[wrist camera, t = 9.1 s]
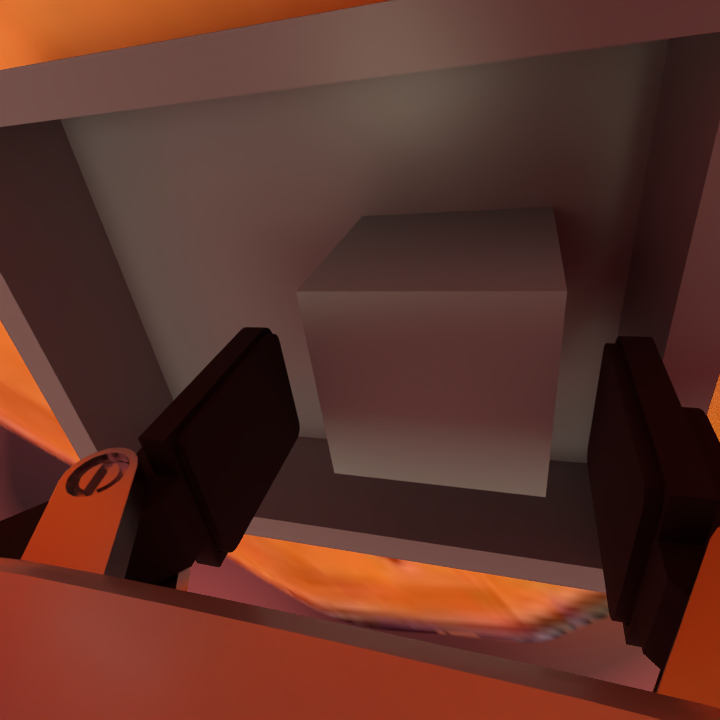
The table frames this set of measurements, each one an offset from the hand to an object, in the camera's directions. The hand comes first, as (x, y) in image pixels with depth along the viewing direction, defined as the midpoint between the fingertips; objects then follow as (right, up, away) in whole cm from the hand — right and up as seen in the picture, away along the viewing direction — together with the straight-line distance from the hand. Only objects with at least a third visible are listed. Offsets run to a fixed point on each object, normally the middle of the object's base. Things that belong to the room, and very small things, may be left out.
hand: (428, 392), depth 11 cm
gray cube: (+1, +3, +4) cm, 5 cm away
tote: (-2, +3, +6) cm, 7 cm away
